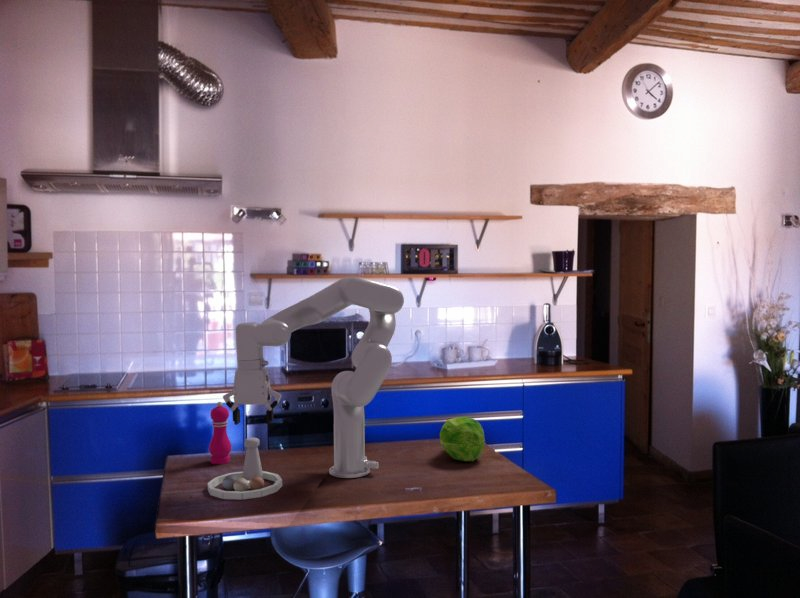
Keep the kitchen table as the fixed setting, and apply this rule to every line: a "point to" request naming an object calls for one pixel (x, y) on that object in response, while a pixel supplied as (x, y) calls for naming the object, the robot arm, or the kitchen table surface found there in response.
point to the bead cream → (240, 485)
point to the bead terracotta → (256, 483)
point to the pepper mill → (220, 436)
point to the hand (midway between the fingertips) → (253, 423)
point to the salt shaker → (252, 459)
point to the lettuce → (462, 438)
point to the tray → (245, 493)
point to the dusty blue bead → (229, 482)
